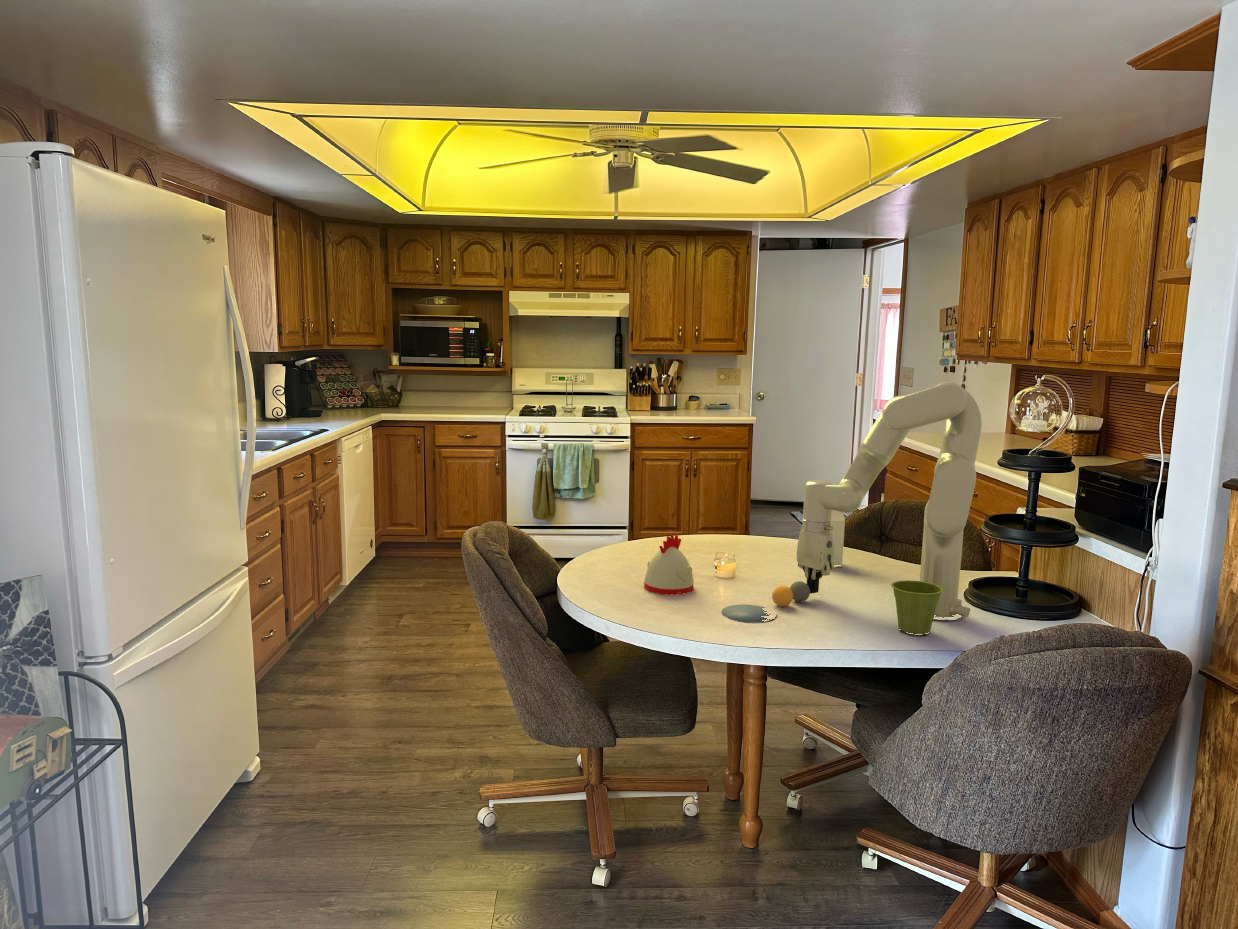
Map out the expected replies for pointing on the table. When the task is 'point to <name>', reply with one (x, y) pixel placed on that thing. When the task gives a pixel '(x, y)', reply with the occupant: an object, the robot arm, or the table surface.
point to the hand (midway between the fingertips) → (812, 592)
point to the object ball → (782, 595)
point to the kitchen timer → (669, 570)
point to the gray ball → (800, 591)
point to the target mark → (745, 613)
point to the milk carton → (838, 535)
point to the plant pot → (915, 605)
